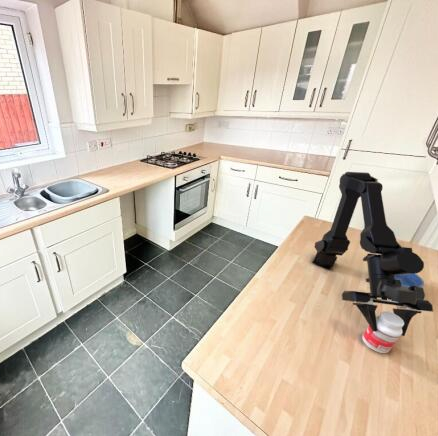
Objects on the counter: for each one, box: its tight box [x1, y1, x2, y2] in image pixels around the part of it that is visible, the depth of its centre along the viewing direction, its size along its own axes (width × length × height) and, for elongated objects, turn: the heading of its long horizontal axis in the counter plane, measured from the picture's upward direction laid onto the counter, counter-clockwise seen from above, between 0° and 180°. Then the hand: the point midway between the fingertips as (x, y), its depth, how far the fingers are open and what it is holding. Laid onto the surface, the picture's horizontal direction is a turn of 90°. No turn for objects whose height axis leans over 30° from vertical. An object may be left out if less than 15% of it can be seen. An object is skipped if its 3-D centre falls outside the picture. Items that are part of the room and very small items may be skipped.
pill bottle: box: [361, 311, 404, 354], centre depth 68 cm, size 6×6×11 cm
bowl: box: [395, 273, 425, 288], centre depth 91 cm, size 13×13×4 cm
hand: (388, 333), depth 66 cm, fingers closed on pill bottle, 6 cm apart
